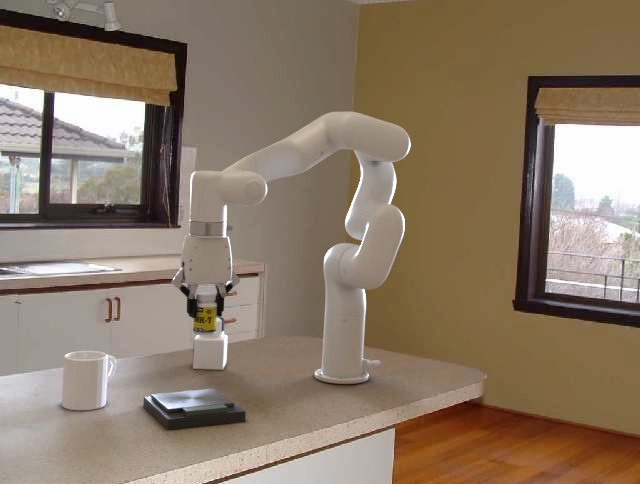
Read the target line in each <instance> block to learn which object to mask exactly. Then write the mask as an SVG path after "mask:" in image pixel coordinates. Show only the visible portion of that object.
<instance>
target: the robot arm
mask: <svg viewBox="0 0 640 484" xmlns="http://www.w3.org/2000/svg"><path fill="white" fill-rule="evenodd" d="M410 149H411V139H410V136H409V134H408V132H407V131H406V130H405V128H404V127H402V126H400V125H398V124H395V123H392V122H390V121H389V122H388V121H385V120H383V119H379V118H375V117H373V116H370V115H366V114H365V113H360V112H356V111H330V112H327V113H325V114H322V115H321V116H319V117H317V118H316V119H314V120H313V121H311V122H310V123H308V124H307V125H305V126H302V127H301V128H300V129H298V130H297V131H295V132H293V133H292V134H290V135H288V136H286V137H285V138H283V139H281V140H279V141H276V142H274V143H272V144H270V145H268V146H266V147H263V148H262V149H259V150H256V151H254V152H252V153H250V154H249V155H246V156H245V157H244V156H243V158H241V159H239V160H238V161H235V162H233V163H232V164H231V165H229V166H228V167H226V168H224V169H223V170H221V171H219V170H196V171H193V173H192V174H191V177H190V193H189V194H190V198H189V199H190V200H189V227H188V228H189V229H188V231H189V233H188V235H185V236H184V239H183V243H182V249H181V256H180V264H179V270H178V272H177V273H176V275H175V276H174V277H173V278H172V280H171V281H170V283H171V285H172V286H174V287H175V288H177V289H178V290H179V291H180V292H181V293H182V294H183V295H184V296H185V297H186V314H188V317H190V318H192V319H194V318H196V317H197V299H196V294H197V290H198V286H199V285H214V289H215V292H216V293H215V294H216V299H215V301H214V302H216V303H217V316H219V317H220V316H221V317H222V316H223V313H224V310H225V298H226V297H227V295H228V294H229V293H230V291H232V289H233V288H234V287H236V286H237V285H238V284H239V283H240V282H241V278H240V277H239V276H238V275H237V273H236V272H235V270H234V269H233V262H232V261H233V257H232V248H231V242H230V241H231V240H230V237H229V236H228V232H229V231H233V224H232V223H230V224H229V223H228V221H227V217H228V215H227V213H228V205H233V206H238V207H239V206H240V207H245V208H246V207H248V208H249V207H254V206H257V205H259V204H261V203H262V202H263V201H264V200H265V198H266V196H267V194H268V185H267V183H270V182H271V181H274V180H277V179H281V178H288V177H293V176H297V175H299V174H303V173H305V172H307V171H309V170H310V169H311V168H313V167H314V166H316V165H317V164H319V163H320V162H322V161H324V160H325V159H327V158H328V157H330V156H331V155H333V154H334V153H336V152H338V151H340V150H351V151H353V152H354V154H355V156H356V158H357V161H358V163H359V167H360V180H359V183H358V186H357V188H356V192H355V194H354V196H353V199H352V202H351V205H350V207H349V209H348V212H347V215H346V217H345V221H344V226H345V231H346V233H347V235H349V236H350V237H351V238H353V239H355V240H358V241H362V242H361V244H355V243H349V242H342V243H338V244H335V245H333V246H331V248H329V249H328V251H327V252H326V253H325V256H324V259H323V276H324V277H323V279H324V286H325V304H324V305H325V306H324V319H323V323H324V324H323V337H322V355H321V356H322V357H321V368H318V369H316V370H315V371H314V379H317V380H318V381H320V382H323V383H329V384H336V385H337V384H338V385H355V384H361V383H365V382H366V381H369V373H368V371H369V370H370V369H373V370H374V369H375V370H376V369H381V367H382V363H381V361H380V359H377V360H370V359H366V358H364V345H365V329H366V327H365V326H366V313H367V296H366V291H373V290H375V289H378V288H379V287H381V286H382V285H383V284H384V283H385V281H386V280H387V278H388V276H389V274H390V272H391V269H392V266H393V264H394V262H395V259H396V256H397V253H398V251H399V248H400V245H401V243H402V240H403V237H404V233H405V226H406V225H405V224H406V223H405V218H404V214H403V213H402V211H401V210H400V209H399V208H398V207H397V206H396V205H394V204H391V203H392V200H393V197H394V194H395V191H396V186H397V176H396V175H397V174H396V170H395V168H394V167H395V166H394V164H393V163H397V162H399V161H401V160H403V159H404V158H406V156H407V155H408V154H409V151H410ZM182 282H185V283H186V284H187V285H184V284H183V283H182Z"/></svg>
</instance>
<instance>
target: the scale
mask: <svg viewBox="0 0 640 484" xmlns="http://www.w3.org/2000/svg"><path fill="white" fill-rule="evenodd" d="M142 405H143V408H144V409H145V410H146V411H147V412H148V414H150V415H151V416H152V417H153V418H155V419H156V420H157V422H159V423H160V424H161V425H162V426H163V428H165V429H166V430H167V431H173V430H180V429H190V428H199V427H206V426H207V427H208V426H216V425H226V424H235V423H243V422H244V423H245V422H246V413H247V411H246V410H244V408H242V407H241V406H239V405H238V404H236V403H235V402H234V407H227V406H225V405H224V404H219V405H209V406H199V407H188V408H183V411H182V412H174V413H167V412H166V411H165V410H164V409H163V408H162V407H161V406H160V405H158V404H157V403H156V402H155V401H154V400H153V399H152V398H151V395H148V396H143V404H142Z"/></svg>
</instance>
